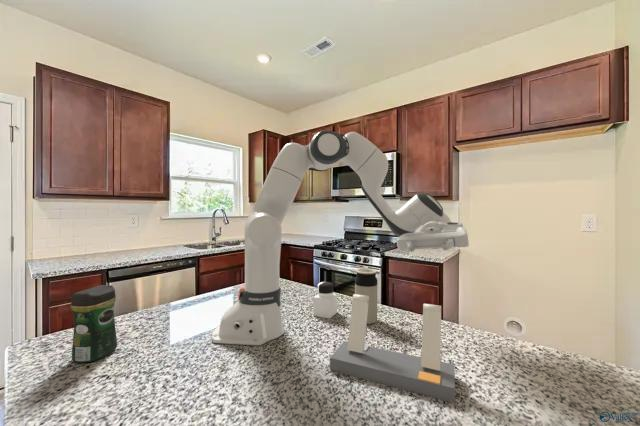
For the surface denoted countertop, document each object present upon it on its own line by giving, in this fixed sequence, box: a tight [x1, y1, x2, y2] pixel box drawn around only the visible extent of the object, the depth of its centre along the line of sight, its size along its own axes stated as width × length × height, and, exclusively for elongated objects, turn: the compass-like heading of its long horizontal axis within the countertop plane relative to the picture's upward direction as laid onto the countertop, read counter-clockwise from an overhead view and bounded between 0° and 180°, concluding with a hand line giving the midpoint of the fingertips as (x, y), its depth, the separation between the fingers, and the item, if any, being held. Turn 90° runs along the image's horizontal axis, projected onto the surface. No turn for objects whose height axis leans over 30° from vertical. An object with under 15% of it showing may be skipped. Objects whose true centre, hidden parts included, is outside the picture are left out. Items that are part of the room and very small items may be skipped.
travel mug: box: [354, 267, 378, 325], centre depth 102 cm, size 8×8×18 cm
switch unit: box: [329, 340, 456, 404], centre depth 69 cm, size 28×10×3 cm, turn 65°
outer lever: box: [420, 303, 442, 370], centre depth 67 cm, size 4×2×14 cm, turn 65°
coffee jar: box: [70, 284, 118, 364], centre depth 77 cm, size 10×8×19 cm
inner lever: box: [347, 293, 369, 353], centre depth 75 cm, size 4×2×14 cm, turn 65°
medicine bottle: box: [312, 281, 338, 319], centre depth 108 cm, size 7×7×12 cm
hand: (427, 248), depth 80 cm, fingers open, 8 cm apart
